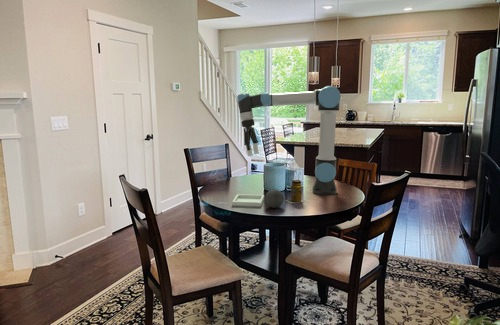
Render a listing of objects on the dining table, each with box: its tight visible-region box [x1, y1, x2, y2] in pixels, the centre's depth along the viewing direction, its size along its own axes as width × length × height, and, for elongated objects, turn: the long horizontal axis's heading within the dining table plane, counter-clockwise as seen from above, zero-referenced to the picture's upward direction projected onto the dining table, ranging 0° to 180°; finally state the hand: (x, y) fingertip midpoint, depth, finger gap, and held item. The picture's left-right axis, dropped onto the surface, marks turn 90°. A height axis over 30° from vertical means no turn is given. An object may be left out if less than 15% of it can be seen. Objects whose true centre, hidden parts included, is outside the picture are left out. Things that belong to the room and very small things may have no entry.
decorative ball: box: [264, 188, 285, 209], centre depth 190 cm, size 10×10×10 cm
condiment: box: [284, 179, 305, 205], centre depth 201 cm, size 7×8×12 cm
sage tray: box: [231, 193, 265, 208], centre depth 200 cm, size 16×16×2 cm
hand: (253, 154), depth 210 cm, fingers open, 13 cm apart
